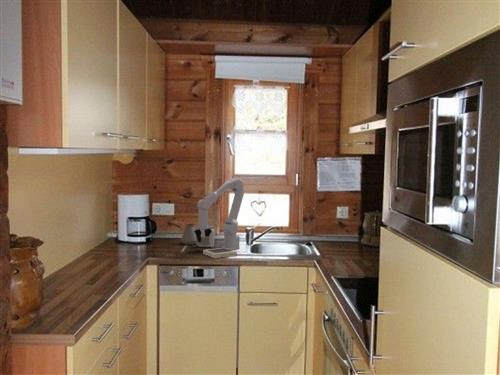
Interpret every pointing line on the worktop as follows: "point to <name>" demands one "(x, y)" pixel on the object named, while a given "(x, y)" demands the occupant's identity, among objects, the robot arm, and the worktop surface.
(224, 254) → the stand
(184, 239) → the coffee pot
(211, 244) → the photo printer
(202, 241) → the housing
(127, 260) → the worktop surface
